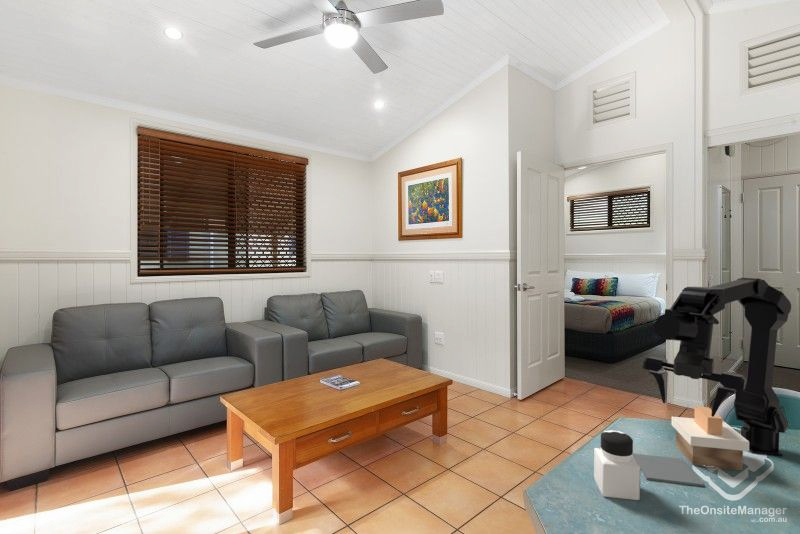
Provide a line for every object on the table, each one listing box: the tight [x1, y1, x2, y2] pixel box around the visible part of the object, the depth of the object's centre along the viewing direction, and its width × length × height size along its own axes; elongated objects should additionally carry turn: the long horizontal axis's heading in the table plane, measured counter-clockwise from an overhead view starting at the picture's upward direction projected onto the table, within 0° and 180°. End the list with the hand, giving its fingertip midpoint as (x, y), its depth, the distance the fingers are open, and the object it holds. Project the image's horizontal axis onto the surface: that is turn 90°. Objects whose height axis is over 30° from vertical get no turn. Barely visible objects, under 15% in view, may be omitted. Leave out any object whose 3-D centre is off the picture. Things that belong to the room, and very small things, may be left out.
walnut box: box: [675, 429, 744, 471], centre depth 100 cm, size 10×10×6 cm
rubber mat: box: [633, 452, 705, 487], centre depth 94 cm, size 11×11×1 cm
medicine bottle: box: [593, 429, 641, 501], centre depth 87 cm, size 7×7×12 cm
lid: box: [671, 406, 750, 452], centre depth 99 cm, size 12×12×6 cm
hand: (687, 409), depth 93 cm, fingers open, 9 cm apart
